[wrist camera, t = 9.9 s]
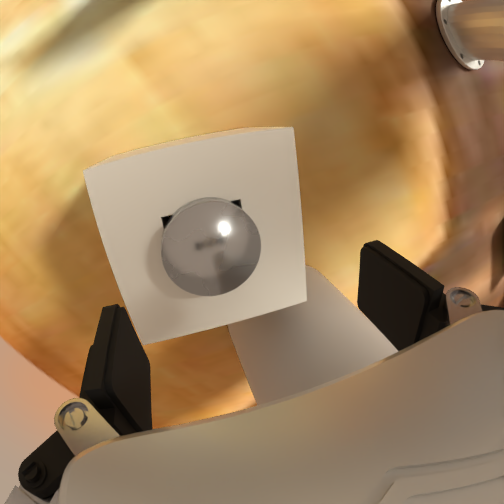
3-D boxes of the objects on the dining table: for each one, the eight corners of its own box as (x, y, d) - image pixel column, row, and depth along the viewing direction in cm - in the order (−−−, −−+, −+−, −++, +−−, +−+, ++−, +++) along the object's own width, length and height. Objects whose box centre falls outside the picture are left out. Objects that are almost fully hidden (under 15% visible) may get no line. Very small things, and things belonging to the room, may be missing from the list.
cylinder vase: (230, 360, 35) (309, 553, 13) (221, 270, 30) (348, 526, 8) (322, 338, 38) (435, 486, 16) (332, 252, 33) (510, 407, 11)
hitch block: (247, 127, 25) (293, 127, 16) (263, 248, 30) (306, 300, 21) (112, 155, 22) (82, 170, 14) (145, 278, 28) (142, 345, 19)
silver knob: (219, 168, 25) (254, 192, 16) (229, 229, 27) (266, 282, 18) (155, 183, 23) (149, 216, 15) (169, 243, 26) (175, 306, 17)
